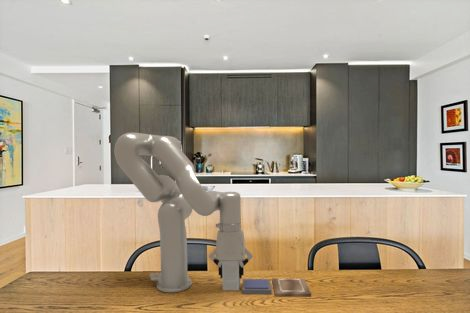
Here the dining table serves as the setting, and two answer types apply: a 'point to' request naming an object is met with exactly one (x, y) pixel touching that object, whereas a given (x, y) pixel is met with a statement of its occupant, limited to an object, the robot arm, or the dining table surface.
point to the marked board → (291, 287)
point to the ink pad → (256, 286)
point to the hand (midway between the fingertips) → (231, 276)
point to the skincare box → (230, 275)
